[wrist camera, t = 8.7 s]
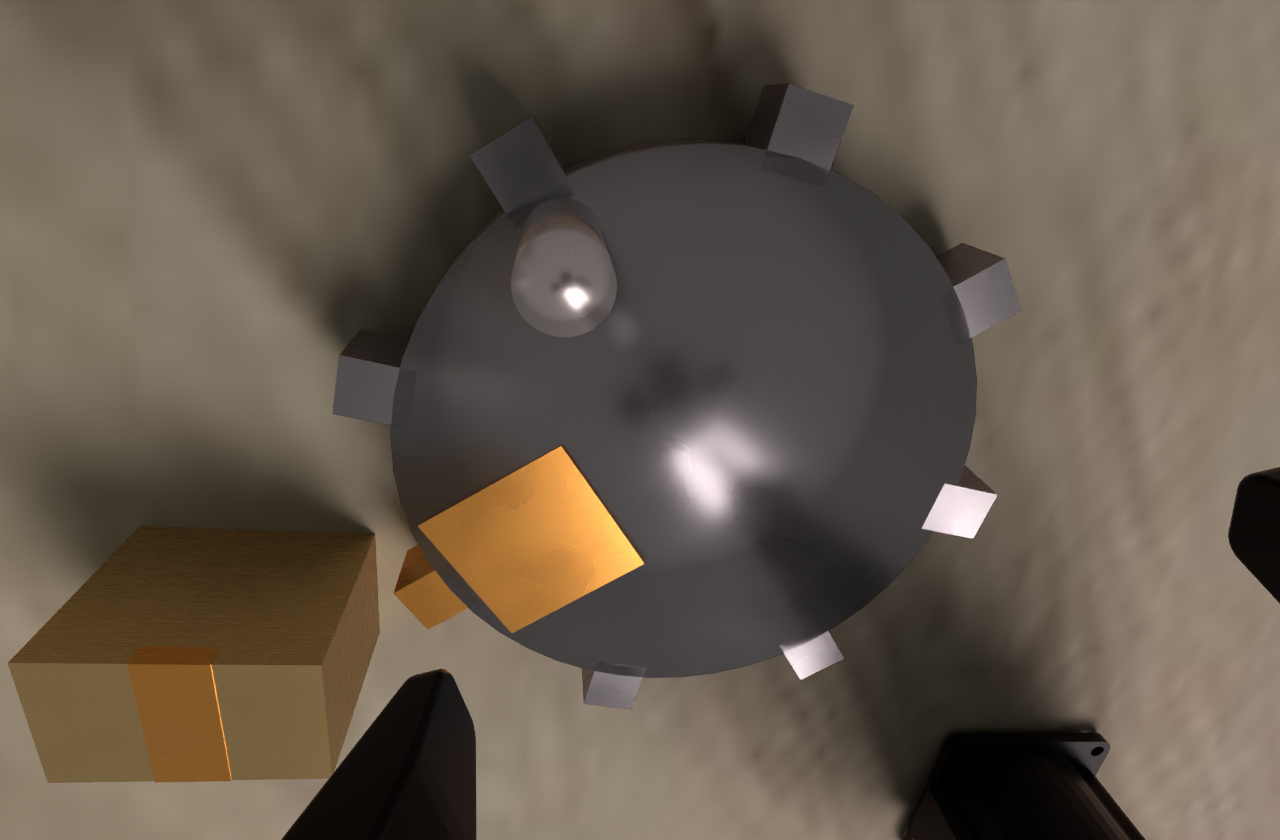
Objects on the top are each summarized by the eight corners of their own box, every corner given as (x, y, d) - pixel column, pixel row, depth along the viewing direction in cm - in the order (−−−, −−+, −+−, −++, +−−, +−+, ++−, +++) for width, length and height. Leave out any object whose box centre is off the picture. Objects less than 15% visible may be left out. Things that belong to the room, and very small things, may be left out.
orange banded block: (375, 532, 19) (320, 665, 15) (379, 630, 21) (331, 779, 16) (140, 524, 18) (6, 663, 14) (162, 627, 20) (47, 783, 15)
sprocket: (853, -86, 14) (1034, -196, 9) (1048, 503, 21) (1214, 641, 16) (201, 323, 16) (27, 435, 11) (577, 738, 23) (584, 931, 17)
